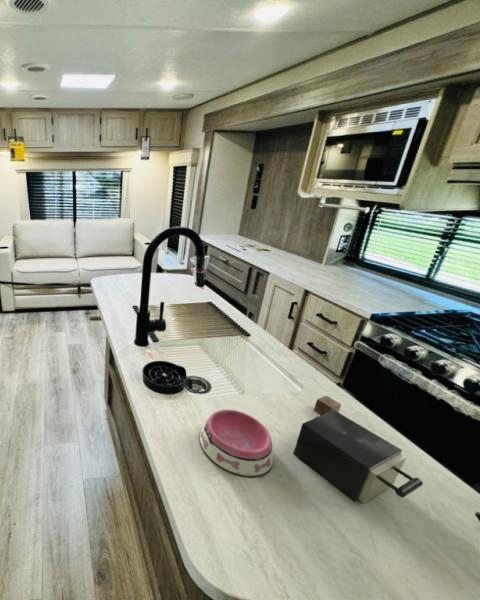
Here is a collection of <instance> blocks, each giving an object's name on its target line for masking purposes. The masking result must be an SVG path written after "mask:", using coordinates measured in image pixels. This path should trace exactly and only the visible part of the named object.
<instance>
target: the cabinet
mask: <svg viewBox="0 0 480 600" xmlns="http://www.w3.org/2000/svg"><path fill="white" fill-rule="evenodd" d="M402 451H403V450H402V449H401V448H399V447H398V446H397V445H394V444H392V443H391V442H390V441H388V440H386V439H384V438H383V437H381V436H379V435H378V434H376V433H374V432H372V431H371V430H369V429H368V428H366V427H364V426H362V425H360V424H359V423H357V422H355V421H354V420H352V419H351V418H349V417H347V416H346V415H343V414H341V413H340V412H337V411H335V410H333V411H330V412H328V413H326V414H323V415H321V414H320V415H319V416H316V417H314V418H312V419H309V420H307V421H305V422H302V424H301V428H300V431H299V434H298V437H297V440H296V443H295V447H294V449H293V455H294V456H295V457H296V458H297V459H299V460H300V461H301V462H303V464H305V465H306V466H308V467H309V468H310V469H311V470H313V471H314V473H317V474H318V475H319V476H320V477H322V478H323V479H324V480H326V481H327V482H328V483H329V484H331V485H332V486H333V487H335V488H336V489H337V490H338V491H340V492H341V493H342V494H343V495H345V496H346V497H347V498H348V499H350V500H351V501H352V502H354V503H356V502H358V501H360V500H359V499H358V497H359V494H360V492H361V490H362V488H363V485H364V483H365V481H366V479H367V476H368V474H369V472H370V470H371V469H373V468H375V467H376V466H378V465H380V464H382V463H383V462H385V461H388V460H390V459H392V458H393V457H395V456H397V455H399V454H401V455H402Z"/></svg>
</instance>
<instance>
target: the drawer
mask: <svg viewBox="0 0 480 600" xmlns="http://www.w3.org/2000/svg"><path fill="white" fill-rule="evenodd" d="M406 459H407V457H406V456H404V455H402V453H401V454H399V455H397V456H395V457H393V458H392V459H390V460H388V461H385V462H383V463H382V464H380V465H378V466H376V467H375V468H373V469H371V470H370V472H369V474H368V476H367V479H366V481H365V483H364V485H363V488H362V490H361V492H360V494H359V497H358V499H359V500H358V501H360V502H361V503H363V504H365V503H367V502H369V501H370V500H371V499H373V498H375V497H376V496H378V495H380V494H382V493H383V492H384V491H386V490H387V489H392V490H393V491H394V492H395V494H396V496H397V497H400V498H405V497H407V496H409V495H411V493H413V492H415V491H416V490H417V489H419V488H421V487H422V486H424V482H423V481H422V480H421V479H420V478H419V477H412V476H411V475H409V474H407V473H406V472H404V471H403V470H401V469H402V467H403V465H404V463H405V461H406ZM399 474H400V475H401V476H403V477H404V478H406V479H407V480H408V481H406V482H405V483H403V484H401V485H400V486H399V487H397V486H396V485H394V484H395V481H396V480H397V477H398V475H399Z"/></svg>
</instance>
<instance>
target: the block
mask: <svg viewBox="0 0 480 600" xmlns="http://www.w3.org/2000/svg"><path fill="white" fill-rule="evenodd" d="M341 406H342V403H341V402H339V401H337V400H335V399H333V398H331V397H330V396H328V395H324V396H322V397H319V398H317V399H316V402H315V405H314V408H313V411H314V412H315V413H317V414H318V415H320V416H321V415H323V414H326V413H328V412H330V411H333V410H335V411H337V412H338V413H340V410H341V409H340V408H341Z"/></svg>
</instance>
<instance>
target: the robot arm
mask: <svg viewBox="0 0 480 600" xmlns="http://www.w3.org/2000/svg"><path fill="white" fill-rule="evenodd" d="M474 515H475V517H476V518H477V520H478V521H479V522H480V511H476V512H475V513H474Z"/></svg>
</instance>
